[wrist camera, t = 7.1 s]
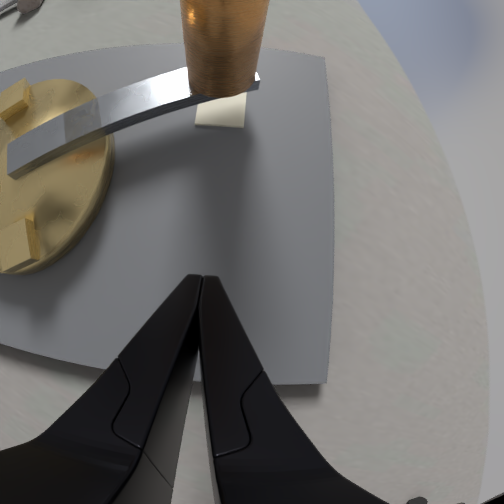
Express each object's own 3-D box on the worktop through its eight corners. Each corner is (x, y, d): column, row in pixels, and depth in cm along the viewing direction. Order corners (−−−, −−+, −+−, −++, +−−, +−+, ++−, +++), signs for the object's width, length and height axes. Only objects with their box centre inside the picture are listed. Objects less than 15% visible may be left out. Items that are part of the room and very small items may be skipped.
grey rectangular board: (-65, 314, 16) (-76, 314, 14) (-10, 84, 19) (-18, 77, 18) (319, 377, 19) (327, 384, 17) (319, 68, 22) (325, 56, 21)
